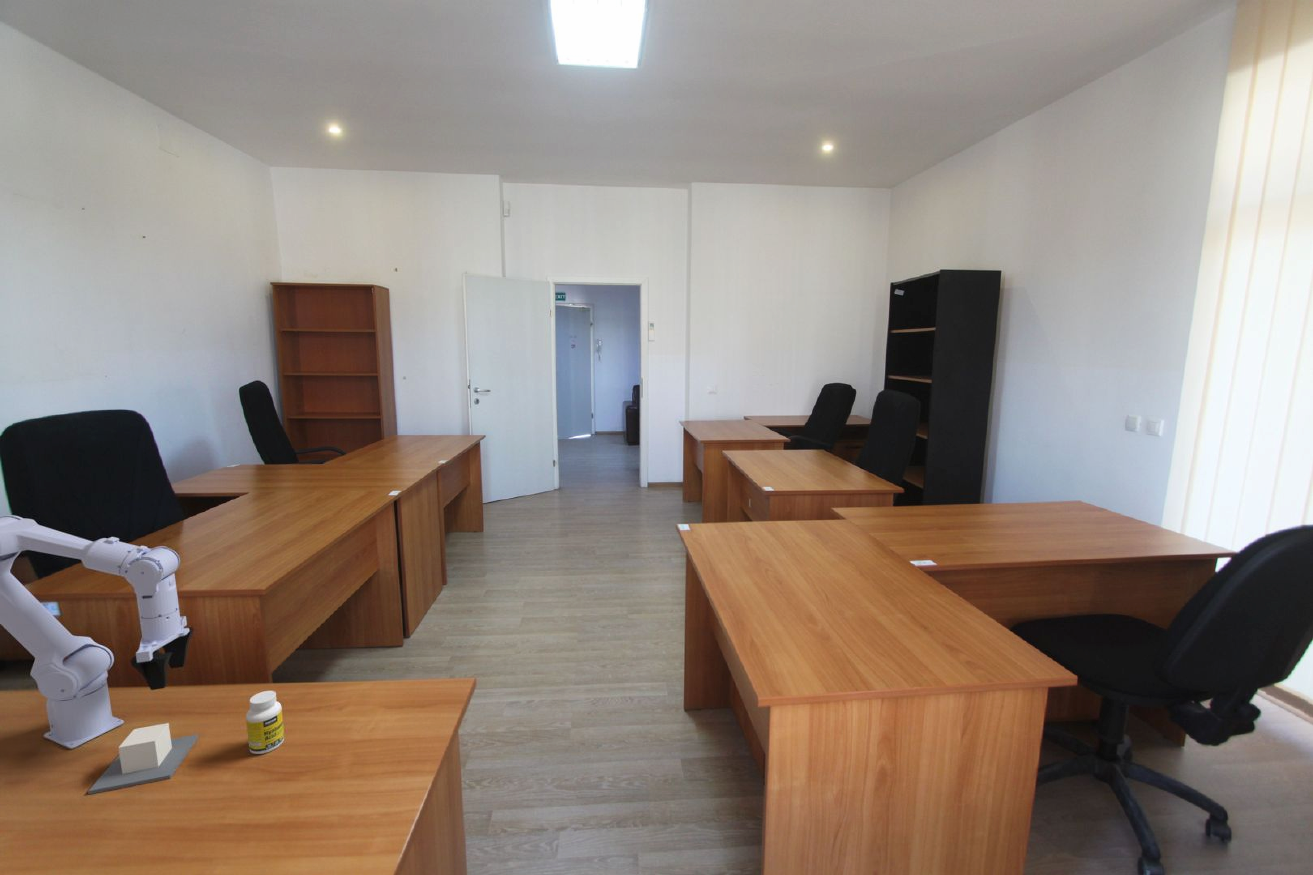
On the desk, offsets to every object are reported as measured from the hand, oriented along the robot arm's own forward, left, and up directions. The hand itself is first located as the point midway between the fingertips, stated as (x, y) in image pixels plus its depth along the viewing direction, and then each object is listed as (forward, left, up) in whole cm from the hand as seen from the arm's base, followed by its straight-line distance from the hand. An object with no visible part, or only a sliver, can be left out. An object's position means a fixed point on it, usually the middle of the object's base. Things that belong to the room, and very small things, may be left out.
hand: (168, 677), depth 109 cm
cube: (+9, -9, -9) cm, 15 cm away
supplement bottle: (+24, +2, -10) cm, 26 cm away
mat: (+9, -9, -9) cm, 16 cm away
